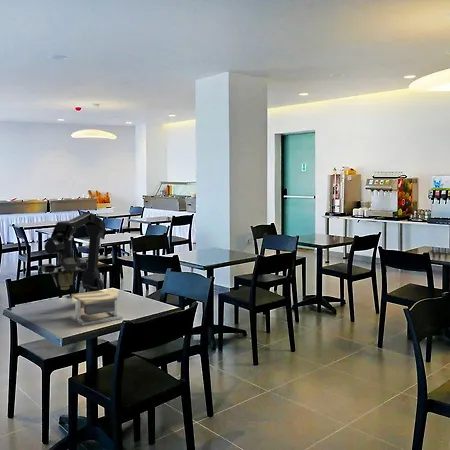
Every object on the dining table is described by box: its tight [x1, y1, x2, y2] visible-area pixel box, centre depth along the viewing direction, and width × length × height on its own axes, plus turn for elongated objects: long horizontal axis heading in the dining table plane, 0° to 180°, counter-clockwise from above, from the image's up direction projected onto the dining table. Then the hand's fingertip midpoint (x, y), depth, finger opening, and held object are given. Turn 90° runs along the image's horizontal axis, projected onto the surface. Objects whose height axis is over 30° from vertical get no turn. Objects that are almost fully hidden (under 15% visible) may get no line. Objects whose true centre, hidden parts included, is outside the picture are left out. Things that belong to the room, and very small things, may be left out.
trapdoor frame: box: [70, 295, 124, 326], centre depth 217 cm, size 13×18×8 cm
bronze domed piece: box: [57, 269, 74, 291], centre depth 222 cm, size 8×7×8 cm
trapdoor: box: [70, 290, 118, 316], centre depth 220 cm, size 16×14×6 cm
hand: (65, 285), depth 222 cm, fingers closed on bronze domed piece, 6 cm apart
